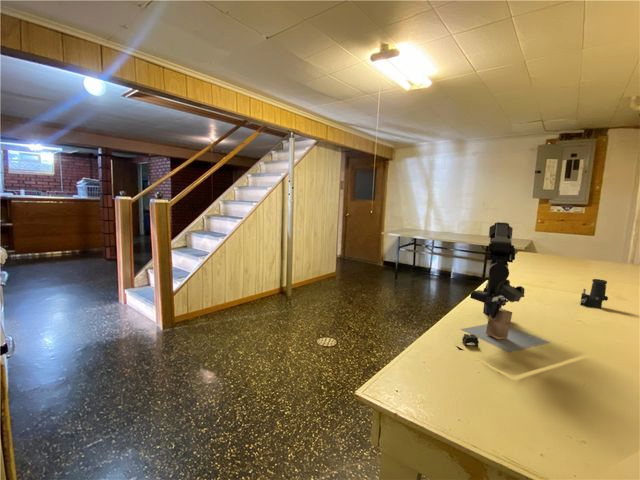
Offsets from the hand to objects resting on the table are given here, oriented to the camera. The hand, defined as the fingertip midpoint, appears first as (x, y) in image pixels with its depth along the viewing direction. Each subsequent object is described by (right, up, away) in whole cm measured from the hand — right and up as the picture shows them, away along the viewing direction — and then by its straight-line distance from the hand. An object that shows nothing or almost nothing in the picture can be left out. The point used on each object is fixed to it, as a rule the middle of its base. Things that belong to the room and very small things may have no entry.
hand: (492, 317), depth 113 cm
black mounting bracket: (-11, -10, -5) cm, 15 cm away
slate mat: (+6, -8, +4) cm, 11 cm away
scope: (+75, -6, +44) cm, 88 cm away
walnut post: (+2, -7, +2) cm, 8 cm away
